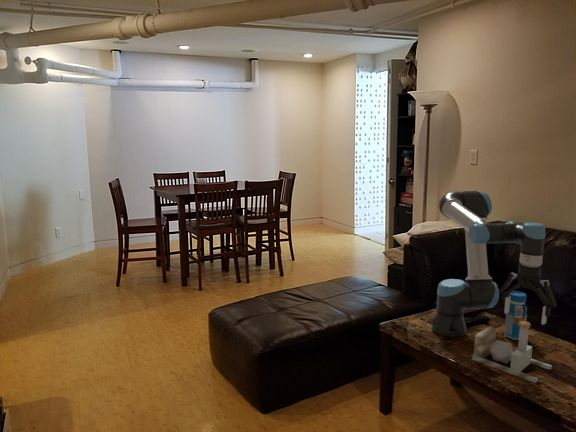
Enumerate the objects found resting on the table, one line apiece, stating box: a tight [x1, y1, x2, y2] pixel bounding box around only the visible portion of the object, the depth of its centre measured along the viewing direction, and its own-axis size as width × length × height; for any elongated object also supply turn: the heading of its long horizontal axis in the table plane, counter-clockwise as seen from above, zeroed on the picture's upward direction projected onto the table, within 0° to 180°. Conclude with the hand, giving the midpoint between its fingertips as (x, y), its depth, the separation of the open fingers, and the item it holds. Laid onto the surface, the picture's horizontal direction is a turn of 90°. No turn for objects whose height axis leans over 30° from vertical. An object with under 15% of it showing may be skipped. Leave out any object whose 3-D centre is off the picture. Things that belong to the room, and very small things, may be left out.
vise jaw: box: [509, 320, 533, 372], centre depth 181 cm, size 4×12×18 cm, turn 132°
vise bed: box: [471, 326, 553, 384], centre depth 184 cm, size 24×15×10 cm, turn 42°
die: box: [490, 339, 514, 365], centre depth 187 cm, size 8×9×10 cm
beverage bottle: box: [503, 290, 528, 341], centre depth 208 cm, size 8×8×20 cm
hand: (524, 317), depth 179 cm, fingers open, 13 cm apart
